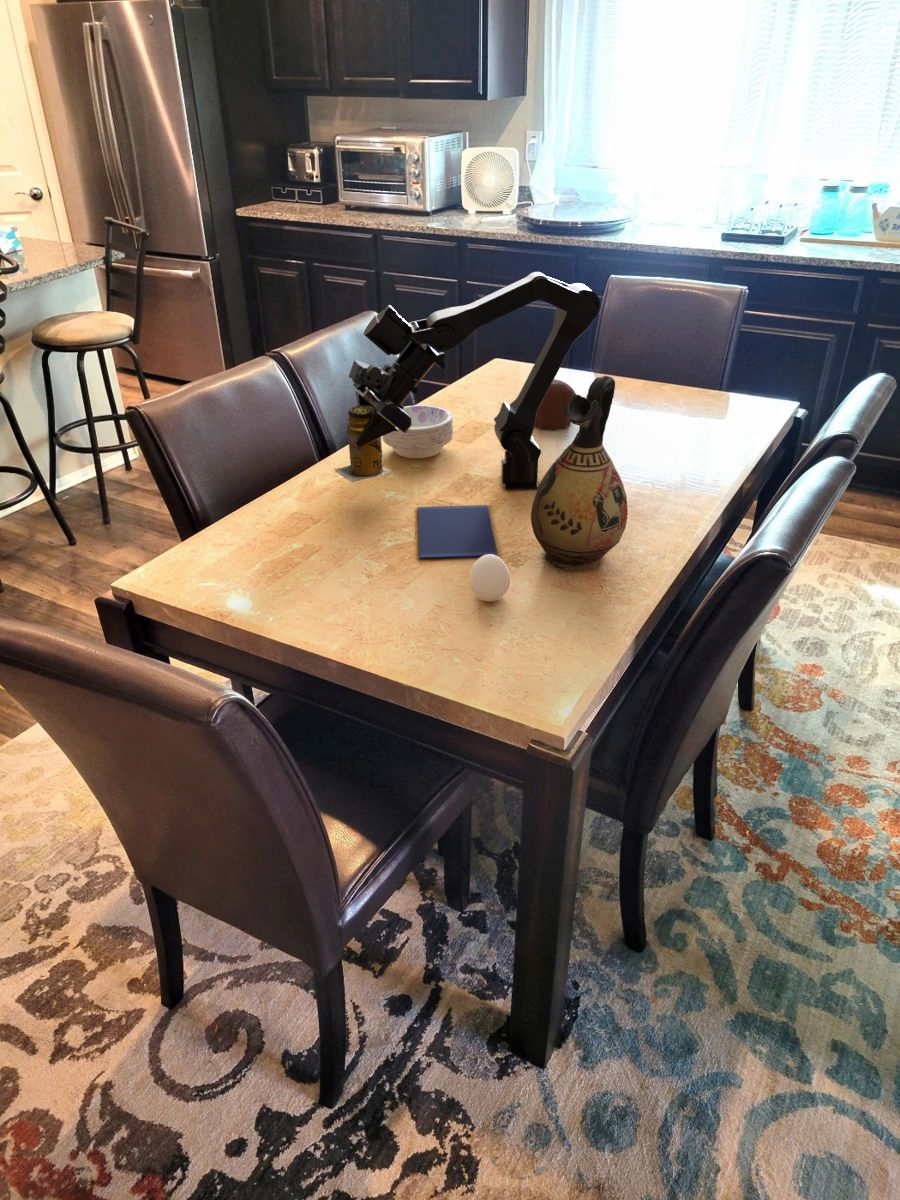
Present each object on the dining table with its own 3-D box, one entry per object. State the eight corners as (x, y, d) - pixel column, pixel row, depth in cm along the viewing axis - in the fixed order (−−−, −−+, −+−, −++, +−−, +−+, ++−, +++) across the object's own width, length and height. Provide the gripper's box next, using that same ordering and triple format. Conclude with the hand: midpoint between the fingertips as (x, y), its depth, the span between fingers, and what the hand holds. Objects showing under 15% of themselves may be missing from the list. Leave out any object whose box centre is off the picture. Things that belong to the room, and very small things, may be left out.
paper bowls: (371, 458, 181) (368, 422, 177) (401, 435, 193) (399, 401, 189) (437, 468, 176) (436, 431, 172) (463, 443, 188) (463, 408, 184)
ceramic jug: (600, 590, 133) (617, 402, 117) (513, 565, 140) (518, 386, 124) (640, 546, 145) (660, 372, 129) (558, 526, 152) (568, 358, 137)
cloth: (487, 506, 159) (487, 504, 159) (497, 557, 142) (497, 555, 142) (417, 509, 159) (417, 507, 159) (419, 559, 142) (419, 557, 142)
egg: (474, 611, 128) (474, 567, 124) (465, 591, 133) (465, 548, 129) (513, 607, 129) (515, 563, 125) (503, 587, 134) (504, 544, 130)
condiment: (392, 472, 159) (388, 410, 153) (352, 483, 155) (346, 420, 149) (372, 460, 165) (368, 400, 158) (333, 471, 161) (327, 409, 154)
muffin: (583, 421, 199) (586, 379, 194) (562, 435, 191) (565, 392, 186) (538, 413, 205) (540, 371, 200) (516, 426, 197) (517, 383, 192)
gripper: (359, 332, 157) (307, 398, 159) (390, 357, 142) (331, 430, 144) (402, 369, 163) (351, 432, 165) (436, 397, 148) (379, 466, 151)
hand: (352, 439), depth 156 cm, fingers closed on condiment, 6 cm apart
